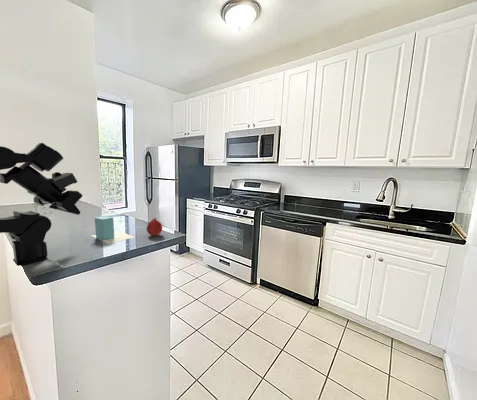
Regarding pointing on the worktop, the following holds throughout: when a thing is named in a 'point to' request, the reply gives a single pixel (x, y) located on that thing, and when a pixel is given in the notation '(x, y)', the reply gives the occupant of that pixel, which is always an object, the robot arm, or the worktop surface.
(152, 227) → the onion
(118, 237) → the mat
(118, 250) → the worktop surface
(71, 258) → the worktop surface
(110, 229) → the block
